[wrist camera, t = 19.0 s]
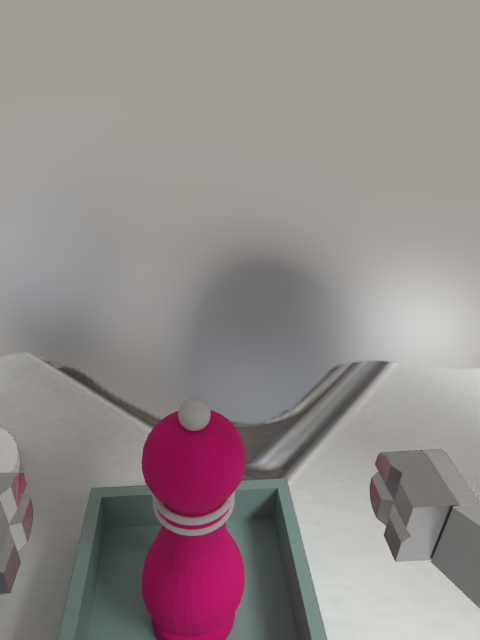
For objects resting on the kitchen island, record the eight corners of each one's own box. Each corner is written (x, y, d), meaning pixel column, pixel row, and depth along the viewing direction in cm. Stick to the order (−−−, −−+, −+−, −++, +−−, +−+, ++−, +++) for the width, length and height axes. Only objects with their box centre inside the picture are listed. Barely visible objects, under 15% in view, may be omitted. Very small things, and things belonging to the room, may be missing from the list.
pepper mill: (171, 692, 29) (162, 473, 20) (129, 597, 35) (105, 387, 25) (260, 627, 33) (288, 417, 24) (210, 550, 38) (216, 352, 29)
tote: (281, 515, 43) (286, 478, 41) (332, 749, 28) (345, 712, 26) (97, 526, 41) (91, 488, 39) (48, 785, 26) (33, 748, 24)
